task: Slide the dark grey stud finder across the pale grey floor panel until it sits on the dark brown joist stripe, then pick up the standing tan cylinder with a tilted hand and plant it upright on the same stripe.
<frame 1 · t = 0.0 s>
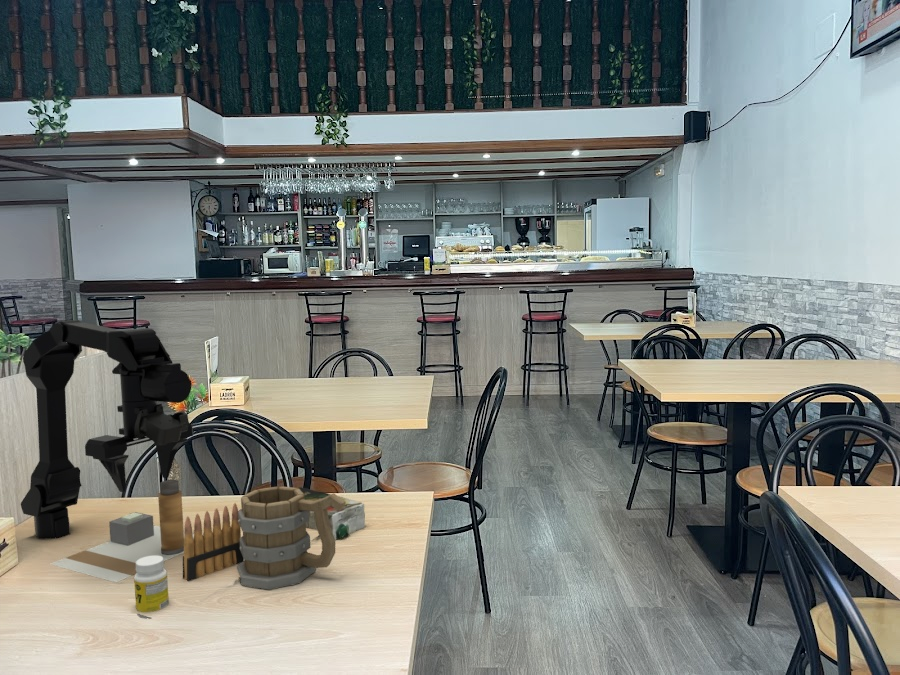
hand: (144, 484, 130), 15 cm above the table, tool pointing down, fingers open, 9 cm apart
ammunition clip: (214, 577, 125), on the table
floor panel: (136, 556, 134), on the table
tankard: (294, 576, 124), on the table
tan cylinder: (173, 550, 134), point 1 cm above the table, touching floor panel
stud finder: (132, 538, 141), point 1 cm above the table, touching floor panel
supplement bottle: (153, 613, 112), on the table
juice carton: (317, 527, 149), on the table
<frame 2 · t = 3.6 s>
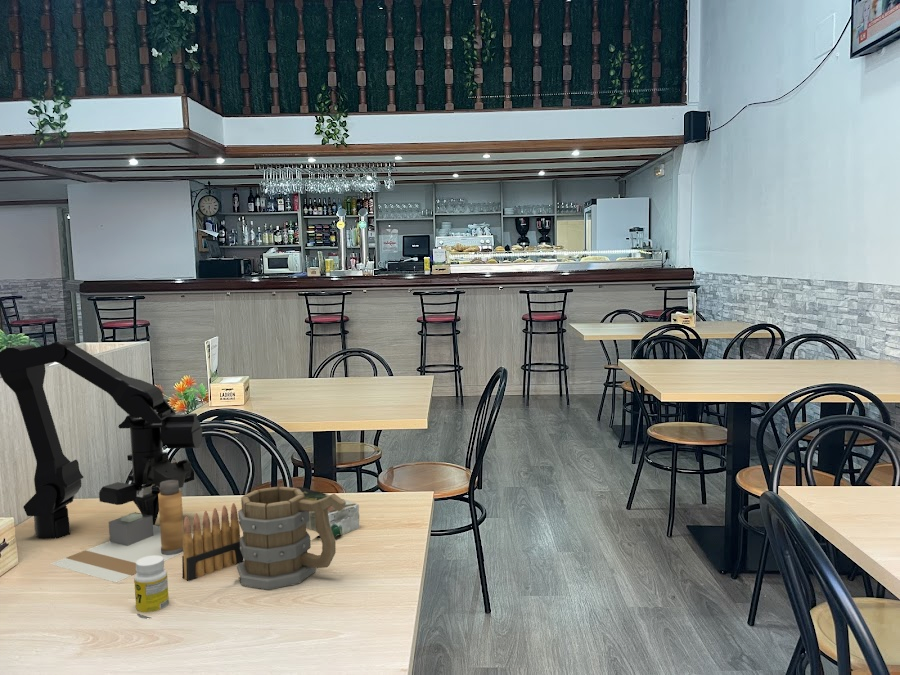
hand: (151, 525, 145), 2 cm above the table, tool pointing down, fingers closed
stud finder: (132, 538, 140), point 1 cm above the table, touching floor panel, gripper
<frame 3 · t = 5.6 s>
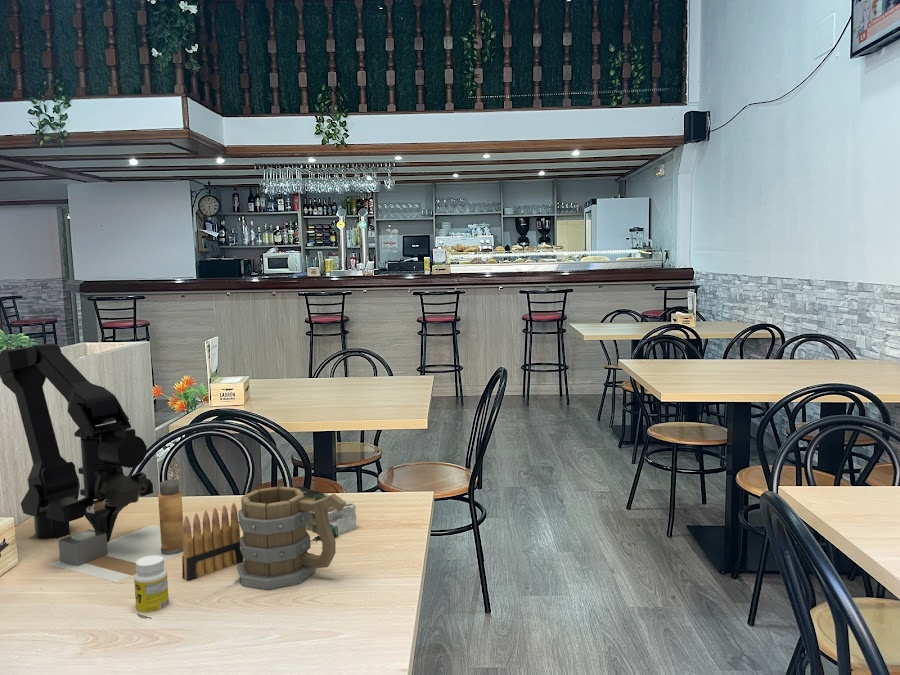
hand: (105, 542, 135), 2 cm above the table, tool pointing down, fingers closed
stud finder: (84, 558, 131), point 1 cm above the table, touching floor panel, gripper
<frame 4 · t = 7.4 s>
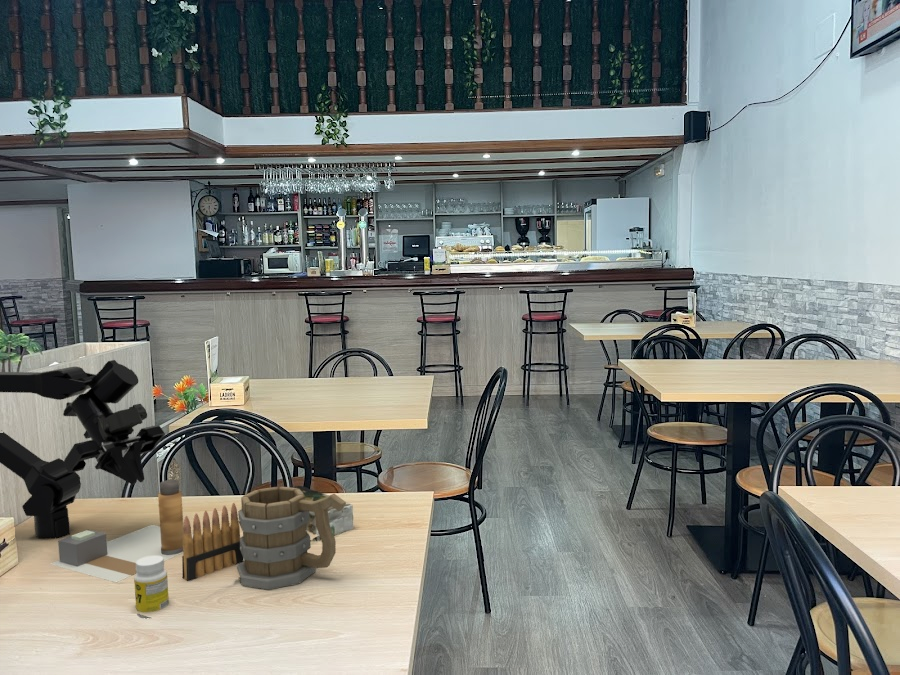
hand: (138, 482, 136), 13 cm above the table, tool tilted 45°, fingers closed
stud finder: (83, 558, 131), point 1 cm above the table, touching floor panel
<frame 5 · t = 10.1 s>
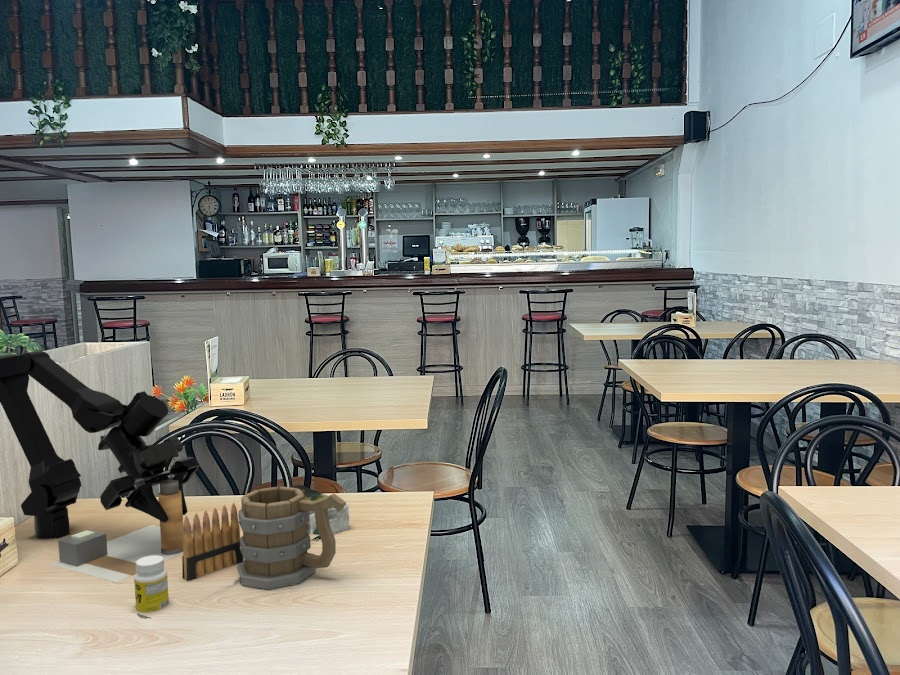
hand: (176, 517, 133), 8 cm above the table, tool tilted 45°, fingers closed on tan cylinder, 4 cm apart
tan cylinder: (173, 550, 134), point 1 cm above the table, touching floor panel, gripper
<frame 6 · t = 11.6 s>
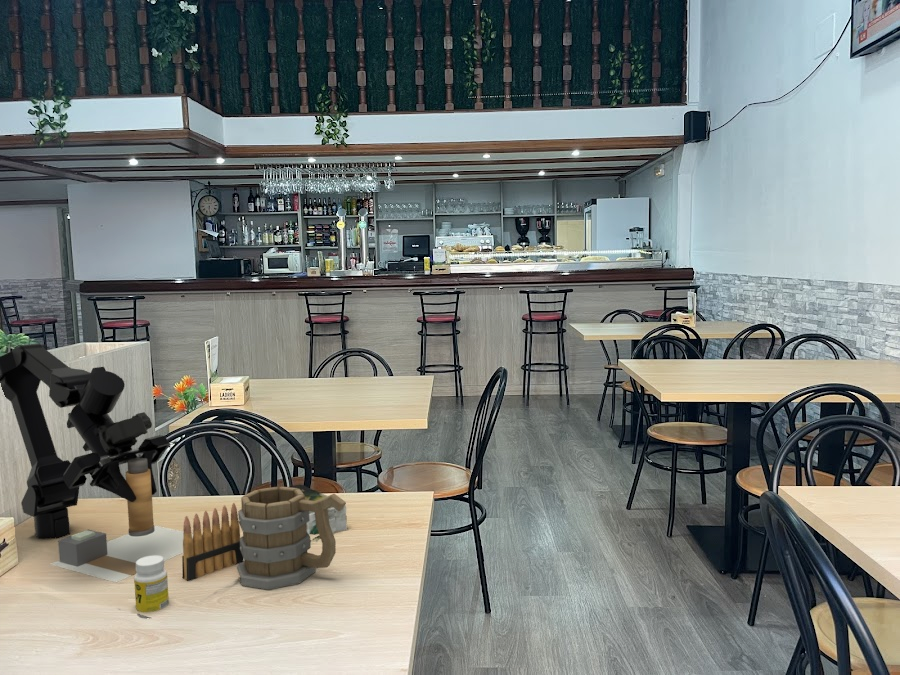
hand: (144, 496, 126), 14 cm above the table, tool tilted 45°, fingers closed on tan cylinder, 4 cm apart
tan cylinder: (141, 532, 127), point 7 cm above the table, touching gripper
when the fingers open (9 cm above the table, at t = 13.1 s): tan cylinder drops 1 cm, resting on floor panel.
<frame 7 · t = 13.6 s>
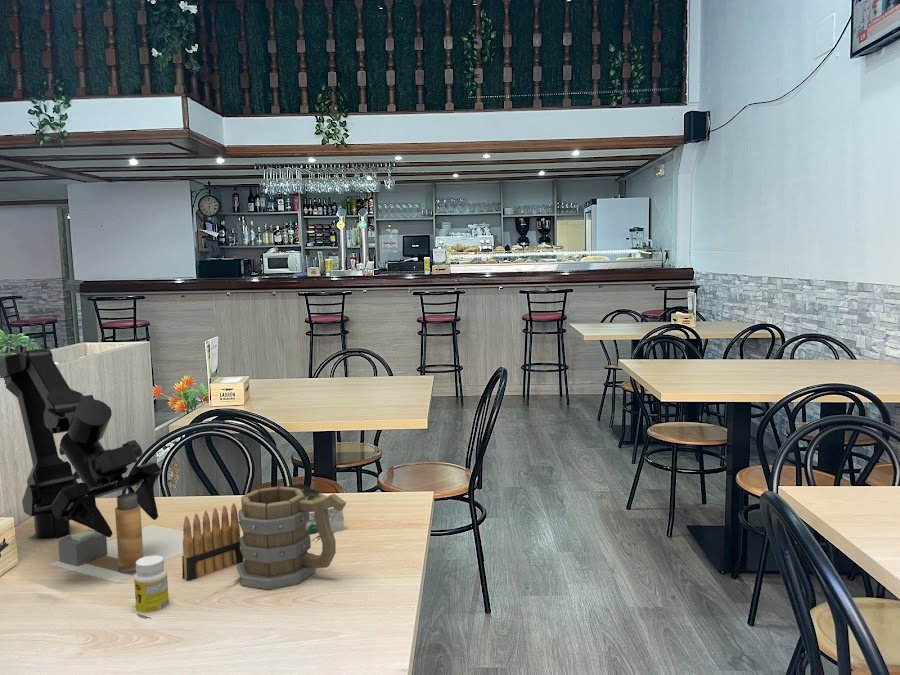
hand: (134, 526, 125), 9 cm above the table, tool tilted 45°, fingers open, 9 cm apart
tan cylinder: (131, 568, 126), point 1 cm above the table, touching floor panel
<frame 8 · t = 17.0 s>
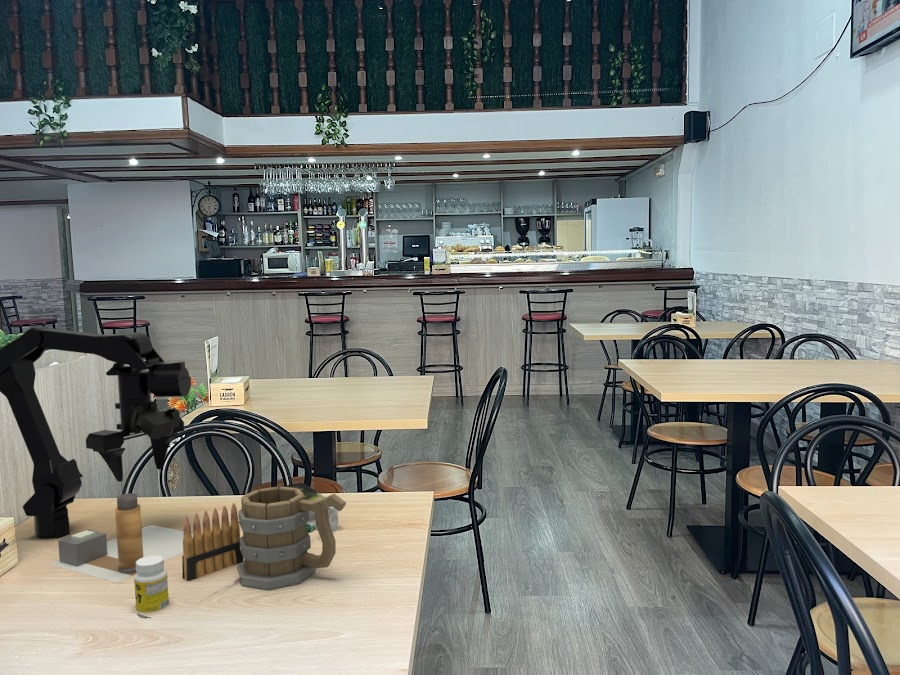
hand: (140, 475, 142), 13 cm above the table, tool pointing down, fingers open, 9 cm apart
at the end: tan cylinder inside the target area (0.0 cm from its centre), point 1.2 cm above the table; tan cylinder tilted 0°; stud finder inside the target area (0.4 cm from its centre), point 1.2 cm above the table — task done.
